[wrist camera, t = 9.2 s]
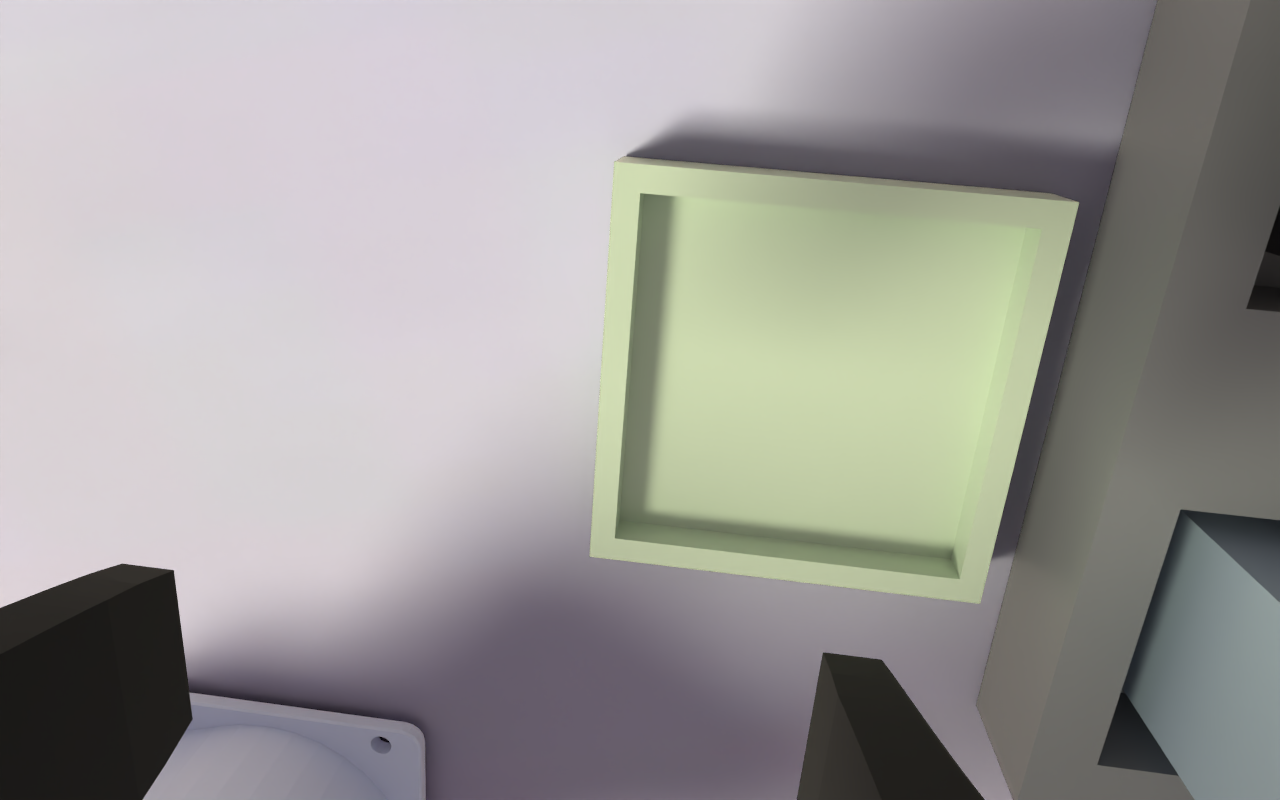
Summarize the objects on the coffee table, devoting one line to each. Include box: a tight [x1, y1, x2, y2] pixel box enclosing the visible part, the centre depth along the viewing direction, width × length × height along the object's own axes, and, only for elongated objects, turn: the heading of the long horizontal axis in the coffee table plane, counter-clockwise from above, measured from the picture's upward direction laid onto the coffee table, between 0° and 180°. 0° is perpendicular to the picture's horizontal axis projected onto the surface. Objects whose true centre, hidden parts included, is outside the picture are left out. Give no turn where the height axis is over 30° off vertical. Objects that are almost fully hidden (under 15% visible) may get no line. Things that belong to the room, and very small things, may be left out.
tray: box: [589, 156, 1079, 604], centre depth 17 cm, size 8×8×1 cm
